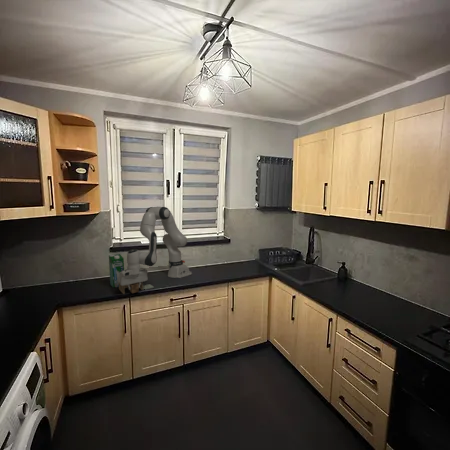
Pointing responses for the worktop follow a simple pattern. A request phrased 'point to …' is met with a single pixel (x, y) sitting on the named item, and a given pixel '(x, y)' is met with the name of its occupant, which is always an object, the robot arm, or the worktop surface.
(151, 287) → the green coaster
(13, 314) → the worktop surface
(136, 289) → the walnut block
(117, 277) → the milk carton
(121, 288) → the croissant
